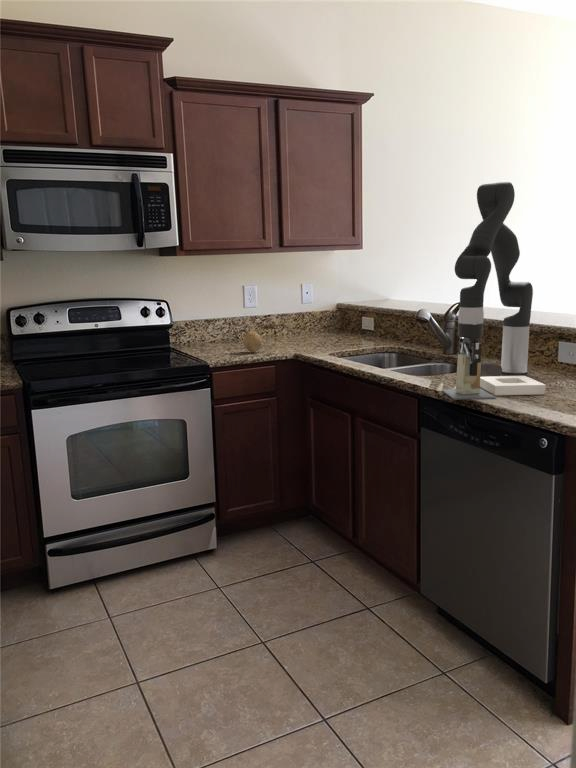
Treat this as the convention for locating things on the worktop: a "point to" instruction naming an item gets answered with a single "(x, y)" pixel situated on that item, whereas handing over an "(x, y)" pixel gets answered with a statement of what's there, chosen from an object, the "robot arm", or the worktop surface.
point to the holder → (511, 385)
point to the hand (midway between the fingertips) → (468, 373)
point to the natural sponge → (252, 341)
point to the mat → (468, 395)
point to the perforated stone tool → (490, 369)
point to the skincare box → (467, 376)
